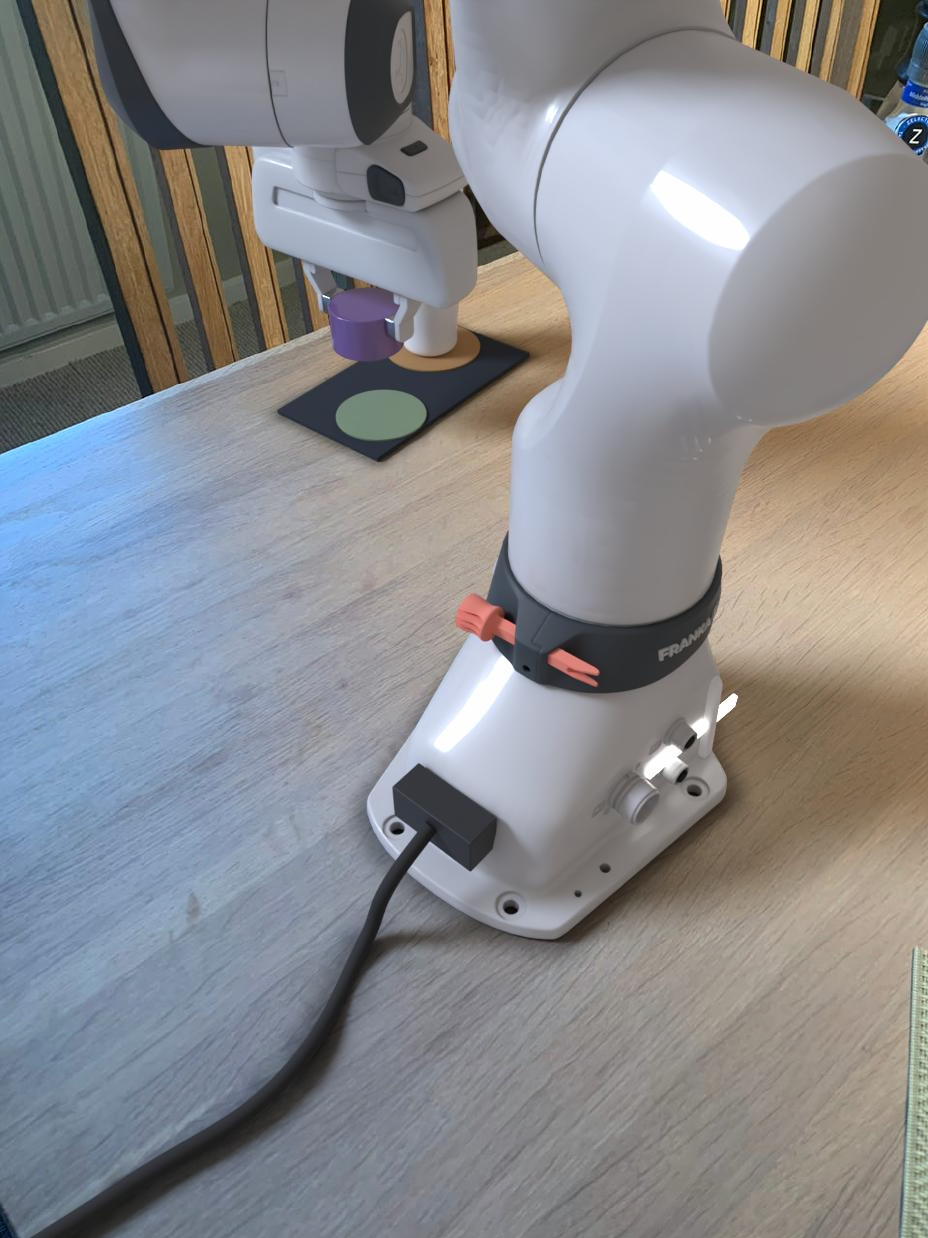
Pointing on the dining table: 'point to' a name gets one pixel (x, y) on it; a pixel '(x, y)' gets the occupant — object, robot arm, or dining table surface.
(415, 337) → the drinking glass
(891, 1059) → the dining table surface
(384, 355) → the purple cylinder puck
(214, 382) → the dining table surface
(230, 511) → the dining table surface
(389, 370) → the placemat
